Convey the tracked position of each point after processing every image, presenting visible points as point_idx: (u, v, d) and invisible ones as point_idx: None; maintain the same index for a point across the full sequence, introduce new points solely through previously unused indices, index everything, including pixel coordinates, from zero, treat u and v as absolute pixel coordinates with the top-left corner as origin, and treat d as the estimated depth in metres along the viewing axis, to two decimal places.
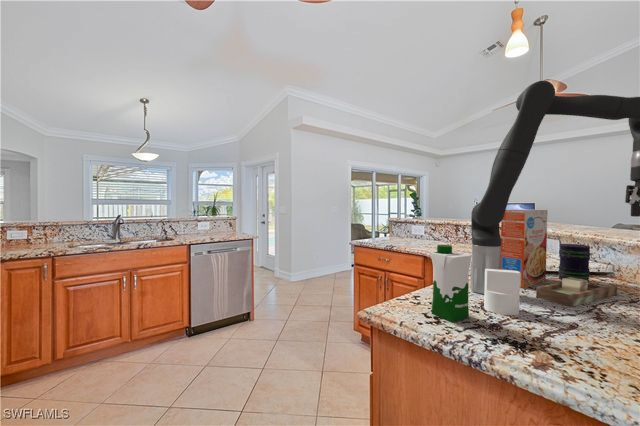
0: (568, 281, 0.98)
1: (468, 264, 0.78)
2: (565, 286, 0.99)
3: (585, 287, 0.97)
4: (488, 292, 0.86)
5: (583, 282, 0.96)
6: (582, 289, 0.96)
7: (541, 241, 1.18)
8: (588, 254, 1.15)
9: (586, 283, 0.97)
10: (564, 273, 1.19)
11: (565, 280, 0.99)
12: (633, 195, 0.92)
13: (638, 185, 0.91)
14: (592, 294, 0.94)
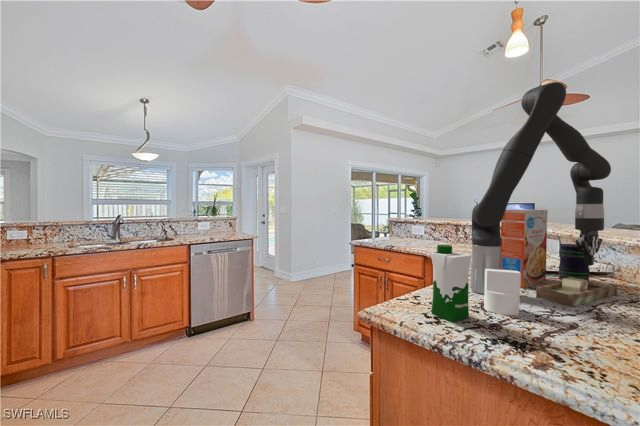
0: (568, 281, 0.98)
1: (468, 264, 0.78)
2: (565, 286, 0.99)
3: (585, 287, 0.97)
4: (488, 292, 0.86)
5: (583, 282, 0.96)
6: (582, 289, 0.96)
7: (541, 241, 1.18)
8: None
9: (586, 283, 0.97)
10: (564, 273, 1.19)
11: (565, 280, 0.99)
12: (593, 245, 0.99)
13: (590, 234, 0.99)
14: (592, 294, 0.94)
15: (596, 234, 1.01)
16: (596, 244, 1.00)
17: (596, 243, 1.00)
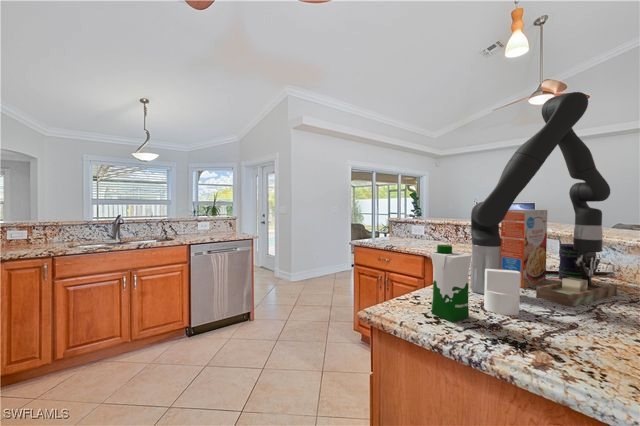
0: (568, 281, 0.98)
1: (468, 264, 0.78)
2: (565, 286, 0.99)
3: (585, 287, 0.97)
4: (488, 292, 0.86)
5: (583, 282, 0.96)
6: (582, 289, 0.96)
7: (541, 241, 1.18)
8: None
9: (586, 283, 0.97)
10: (564, 273, 1.19)
11: (565, 280, 0.99)
12: (591, 266, 1.00)
13: (588, 255, 1.00)
14: (592, 294, 0.94)
15: (594, 255, 1.02)
16: (594, 265, 1.01)
17: (594, 264, 1.01)
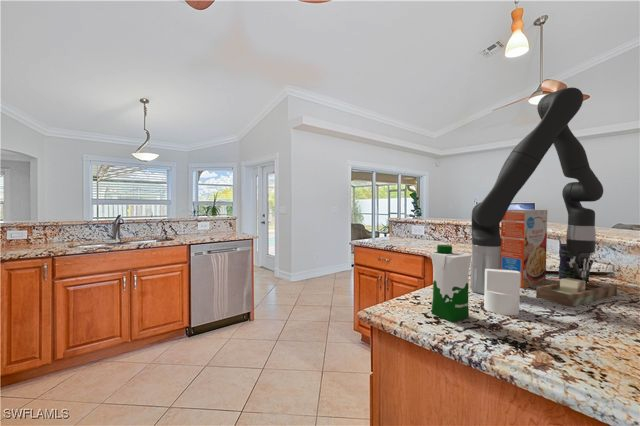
0: (566, 282, 0.98)
1: (468, 264, 0.78)
2: (563, 287, 0.98)
3: (583, 288, 0.96)
4: (488, 292, 0.86)
5: (581, 283, 0.96)
6: (580, 290, 0.96)
7: (541, 241, 1.18)
8: None
9: (584, 284, 0.96)
10: (564, 273, 1.19)
11: (563, 281, 0.98)
12: (584, 267, 0.98)
13: (581, 256, 0.98)
14: (592, 294, 0.94)
15: (587, 256, 1.00)
16: (587, 267, 0.99)
17: (587, 265, 0.99)
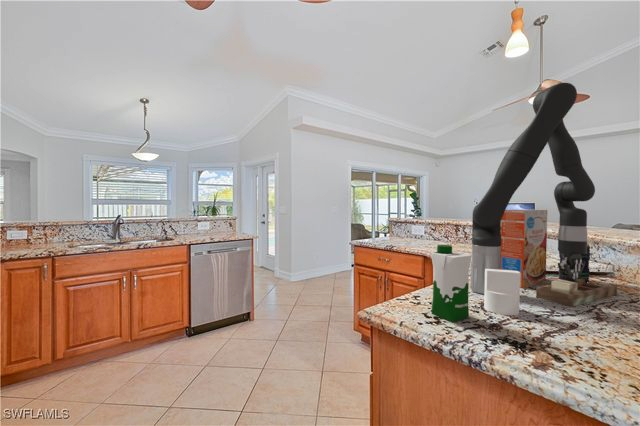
0: (557, 283, 0.95)
1: (468, 264, 0.78)
2: (554, 289, 0.96)
3: (575, 290, 0.94)
4: (488, 292, 0.86)
5: (573, 284, 0.93)
6: (572, 292, 0.93)
7: (541, 241, 1.18)
8: (588, 254, 1.15)
9: (576, 285, 0.94)
10: None
11: (554, 282, 0.96)
12: (575, 268, 0.96)
13: (572, 257, 0.96)
14: (592, 294, 0.94)
15: (579, 257, 0.98)
16: (579, 268, 0.97)
17: (579, 266, 0.97)
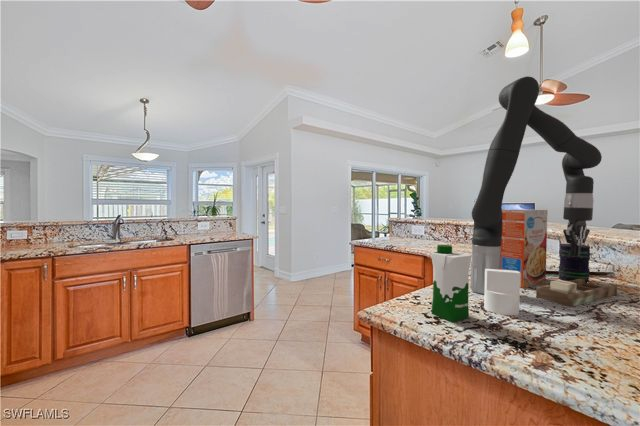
0: (556, 284, 0.95)
1: (468, 264, 0.78)
2: (553, 289, 0.96)
3: (574, 290, 0.93)
4: (488, 292, 0.86)
5: (572, 285, 0.93)
6: (571, 293, 0.93)
7: (541, 241, 1.18)
8: (588, 254, 1.15)
9: (575, 286, 0.94)
10: (564, 273, 1.19)
11: (553, 283, 0.96)
12: (580, 235, 0.97)
13: (578, 224, 0.97)
14: (592, 294, 0.94)
15: (584, 224, 0.99)
16: (584, 235, 0.98)
17: (583, 233, 0.98)
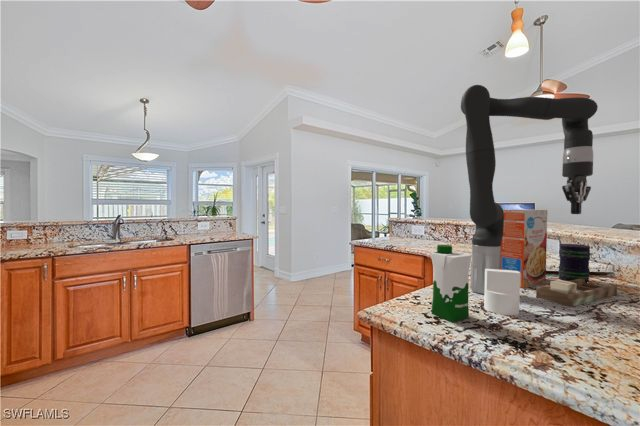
0: (556, 284, 0.95)
1: (468, 264, 0.78)
2: (553, 289, 0.96)
3: (574, 290, 0.93)
4: (488, 292, 0.86)
5: (572, 285, 0.93)
6: (571, 293, 0.93)
7: (541, 241, 1.18)
8: (588, 254, 1.15)
9: (575, 286, 0.94)
10: (564, 273, 1.19)
11: (553, 283, 0.96)
12: (580, 191, 0.92)
13: (578, 180, 0.92)
14: (592, 294, 0.94)
15: (584, 181, 0.94)
16: (584, 191, 0.93)
17: (584, 190, 0.93)
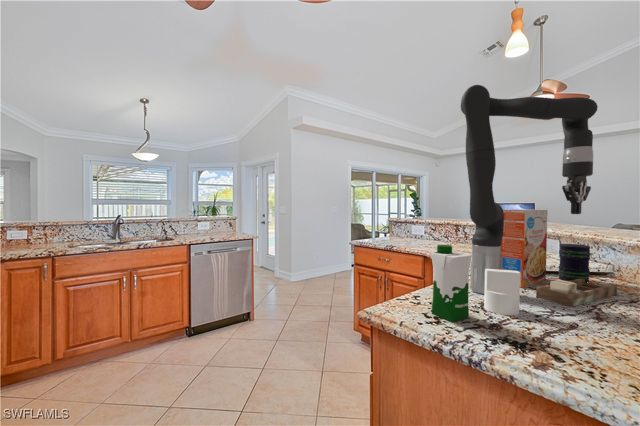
0: (556, 284, 0.95)
1: (468, 264, 0.78)
2: (553, 289, 0.96)
3: (574, 290, 0.93)
4: (488, 292, 0.86)
5: (572, 285, 0.93)
6: (571, 293, 0.93)
7: (541, 241, 1.18)
8: (588, 254, 1.15)
9: (575, 286, 0.94)
10: (564, 273, 1.19)
11: (553, 283, 0.96)
12: (581, 191, 0.92)
13: (578, 180, 0.92)
14: (592, 294, 0.94)
15: (584, 181, 0.94)
16: (584, 191, 0.93)
17: (584, 190, 0.93)
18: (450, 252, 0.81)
